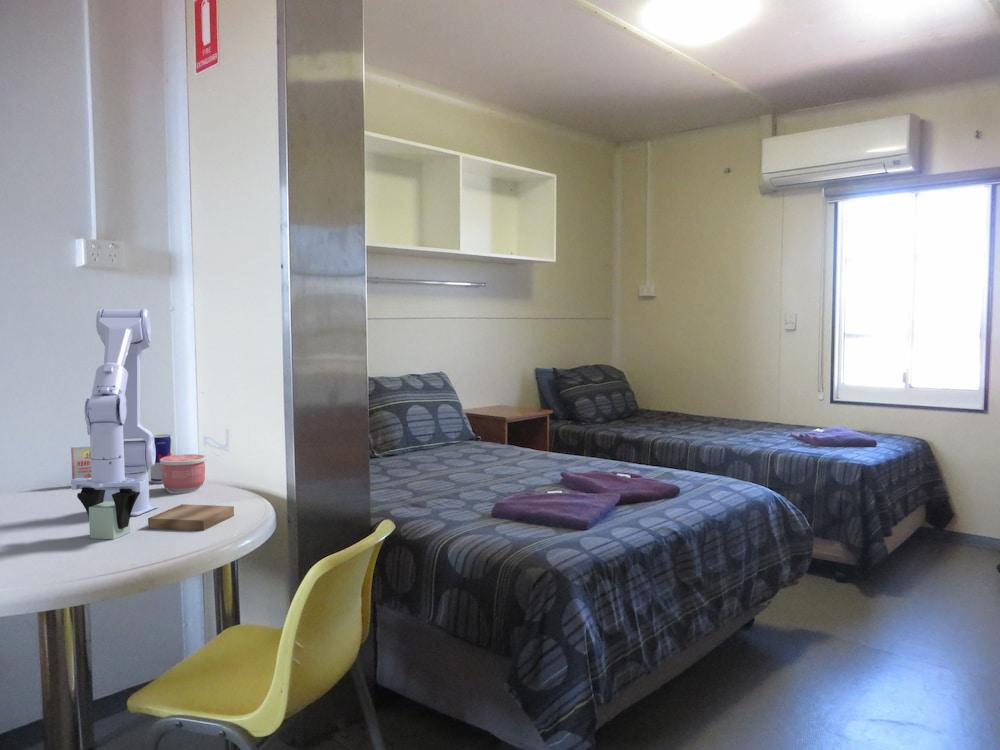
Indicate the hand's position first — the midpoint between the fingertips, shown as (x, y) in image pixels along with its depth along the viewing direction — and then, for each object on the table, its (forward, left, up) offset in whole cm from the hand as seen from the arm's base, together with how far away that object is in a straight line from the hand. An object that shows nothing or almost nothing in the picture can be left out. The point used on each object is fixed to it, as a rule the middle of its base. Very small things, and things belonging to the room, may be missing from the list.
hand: (110, 527), depth 148 cm
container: (-9, +40, -2) cm, 41 cm away
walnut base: (+10, +12, -2) cm, 16 cm away
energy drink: (-20, +48, -2) cm, 52 cm away
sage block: (0, 0, -2) cm, 2 cm away
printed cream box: (-36, +41, -2) cm, 55 cm away
